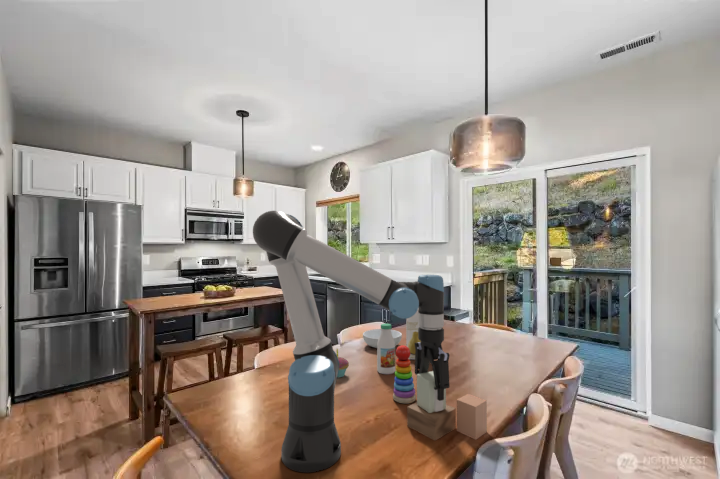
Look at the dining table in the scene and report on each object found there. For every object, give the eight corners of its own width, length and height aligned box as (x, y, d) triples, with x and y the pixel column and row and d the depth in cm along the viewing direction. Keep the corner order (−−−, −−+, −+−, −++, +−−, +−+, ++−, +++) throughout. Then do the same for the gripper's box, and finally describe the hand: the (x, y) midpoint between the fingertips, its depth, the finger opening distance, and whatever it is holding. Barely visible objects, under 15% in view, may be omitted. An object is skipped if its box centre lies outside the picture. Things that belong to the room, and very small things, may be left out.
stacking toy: (400, 392, 126) (400, 341, 126) (420, 398, 121) (419, 345, 121) (388, 400, 120) (388, 345, 120) (408, 406, 114) (408, 350, 115)
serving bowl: (357, 342, 191) (357, 330, 191) (392, 339, 197) (392, 327, 197) (370, 354, 171) (370, 340, 171) (408, 350, 177) (408, 336, 177)
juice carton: (406, 360, 162) (406, 308, 162) (406, 354, 169) (406, 305, 170) (426, 361, 160) (426, 309, 160) (426, 355, 168) (425, 306, 168)
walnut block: (434, 441, 95) (434, 419, 95) (407, 427, 102) (407, 406, 102) (455, 428, 101) (455, 408, 101) (428, 416, 109) (428, 397, 109)
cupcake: (345, 380, 138) (345, 349, 138) (325, 378, 139) (325, 348, 140) (350, 372, 146) (350, 343, 146) (331, 370, 148) (331, 342, 148)
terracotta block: (475, 439, 95) (475, 406, 95) (456, 430, 100) (456, 399, 100) (486, 431, 99) (486, 400, 99) (468, 423, 104) (467, 393, 104)
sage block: (429, 413, 98) (429, 381, 98) (416, 404, 103) (416, 374, 103) (446, 408, 100) (445, 377, 101) (433, 400, 106) (432, 371, 106)
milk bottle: (374, 372, 145) (374, 325, 146) (381, 367, 152) (381, 321, 153) (391, 376, 142) (391, 327, 142) (398, 370, 149) (397, 323, 149)
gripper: (463, 332, 95) (463, 417, 95) (422, 319, 112) (422, 391, 112) (441, 335, 92) (442, 423, 92) (402, 321, 109) (402, 395, 109)
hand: (431, 405), depth 102 cm, fingers closed on sage block, 6 cm apart
